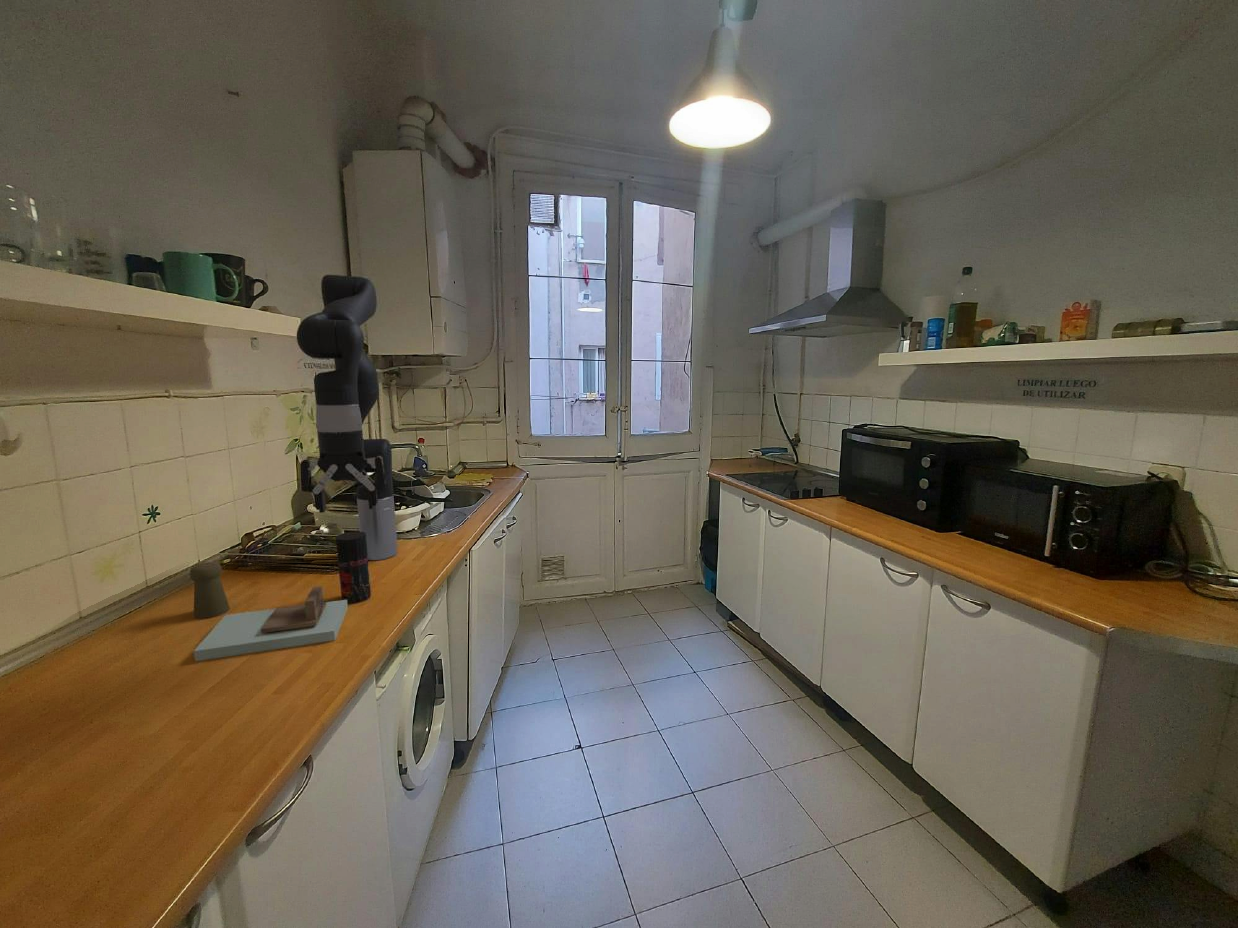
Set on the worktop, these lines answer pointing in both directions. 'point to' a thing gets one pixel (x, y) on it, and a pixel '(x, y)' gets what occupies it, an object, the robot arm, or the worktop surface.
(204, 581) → the cork
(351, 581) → the deodorant
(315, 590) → the cover
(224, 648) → the socket board
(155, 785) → the worktop surface
